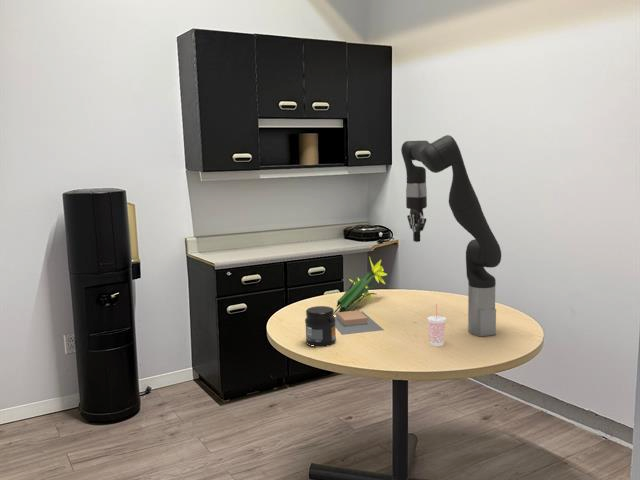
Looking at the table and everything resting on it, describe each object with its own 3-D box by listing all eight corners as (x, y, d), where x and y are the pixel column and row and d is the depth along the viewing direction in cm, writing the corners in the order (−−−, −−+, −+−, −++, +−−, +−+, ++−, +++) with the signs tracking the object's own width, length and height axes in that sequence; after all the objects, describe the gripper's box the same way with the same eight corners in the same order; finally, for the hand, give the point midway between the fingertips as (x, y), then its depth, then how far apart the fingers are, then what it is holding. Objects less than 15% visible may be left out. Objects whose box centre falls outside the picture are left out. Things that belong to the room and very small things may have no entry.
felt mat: (384, 331, 216) (384, 330, 216) (342, 335, 212) (342, 334, 212) (362, 312, 241) (362, 311, 241) (324, 316, 237) (324, 315, 237)
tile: (367, 317, 223) (358, 310, 234) (344, 320, 221) (336, 312, 232) (367, 324, 223) (358, 316, 234) (344, 326, 221) (337, 318, 232)
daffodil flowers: (318, 313, 244) (356, 275, 271) (348, 333, 240) (383, 293, 267) (331, 284, 234) (369, 248, 261) (362, 304, 230) (397, 265, 257)
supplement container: (339, 339, 209) (338, 306, 207) (331, 349, 199) (330, 314, 197) (310, 337, 212) (309, 305, 210) (302, 347, 202) (300, 313, 200)
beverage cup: (424, 342, 202) (423, 302, 200) (439, 339, 204) (439, 300, 202) (433, 347, 197) (433, 307, 194) (449, 345, 199) (449, 304, 196)
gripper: (400, 194, 224) (400, 239, 227) (413, 197, 211) (414, 245, 214) (418, 193, 226) (419, 238, 229) (433, 196, 213) (433, 243, 216)
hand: (416, 241), depth 221 cm, fingers closed
